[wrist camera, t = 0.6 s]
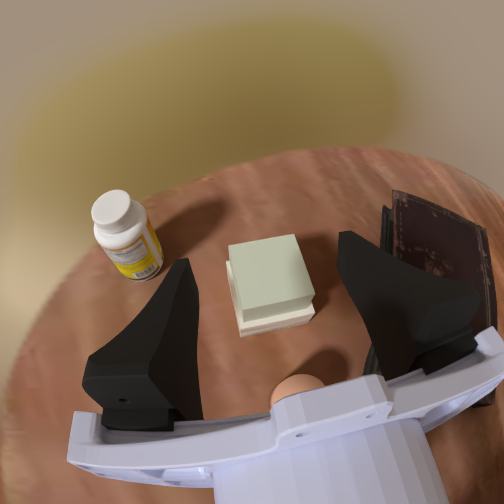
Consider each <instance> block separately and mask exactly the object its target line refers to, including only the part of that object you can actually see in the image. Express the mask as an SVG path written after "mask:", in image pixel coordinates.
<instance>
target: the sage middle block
mask: <svg viewBox="0 0 504 504" xmlns="http://www.w3.org/2000/svg"><path fill="white" fill-rule="evenodd" d="M228 247H229V259H230V267H231V272H232V276H233V281H234V285H235V290H236V294H237V298H238V303H239V307H240V311H241V316H242V320H243V323H244V322H249V321H254V320H259V319H263V318H268V317H272V316H277V315H281V314H285V313H290V312H294V311H298V310H302V309H306V308H307V307H308V305H309V304H310V302H311V300H312V299H313V297H314V295H315V291H314V288H313V286H312V283H311V280H310V277H309V274H308V271H307V268H306V266H305V263H304V260H303V257H302V254H301V252H300V249H299V246H298V243H297V241H296V238H295V235H294V234H291V235H285V236H279V237H274V238H268V239H263V240H257V241H251V242H246V243H240V244H235V245H229V246H228Z"/></svg>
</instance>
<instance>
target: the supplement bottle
mask: <svg viewBox="0 0 504 504" xmlns="http://www.w3.org/2000/svg"><path fill="white" fill-rule="evenodd" d="M92 218H93V220H94V222H95V224H94V234H95V237H96V239H97V241H98V242H99V244H100V245H101V247H102V248H103V249H104V251H105V252H106V253H107V255H108V256H109V257H110V259H111V260H112V261H113V263H114V264H115V265H116V266H117V268H118V269H119V270H120V272H121V273H122V274H123V275H124V276H125V277H126V278H128V279H129V280H132V281H137V282H140V281H145V280H148V279H150V278H152V277H153V276H155V275H156V274H157V273H158V271H159V270H160V268H161V266H162V264H163V260H164V254H163V250H162V247H161V245H160V243H159V241H158V239H157V236H156V234H155V232H154V230H153V227H152V225H151V223H150V220H149V218H148V216H147V213H146V211H145V209H144V207H143V206H142V205H141V204H140V203H139V202H137V201H135V200H132V199H131V198H130V196H129V194H128V193H127V192H125V191H123V190H113V191H109V192H107V193H105V194H103V195H102V196H100V197H99V198H98V199H97V201H96V202H95V203H94V205H93V208H92Z"/></svg>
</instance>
